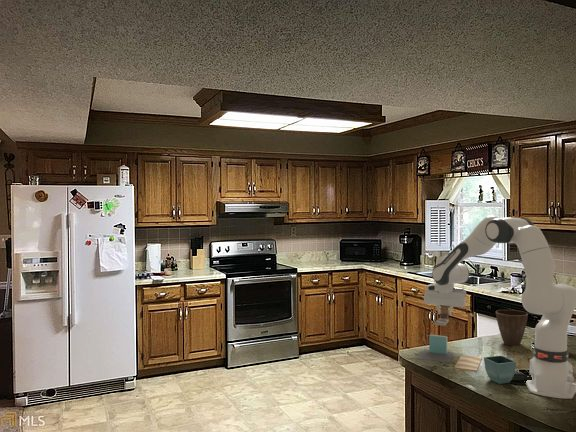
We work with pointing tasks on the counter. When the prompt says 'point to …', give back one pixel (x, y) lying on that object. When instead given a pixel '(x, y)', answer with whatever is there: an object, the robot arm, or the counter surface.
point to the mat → (436, 356)
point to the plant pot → (511, 325)
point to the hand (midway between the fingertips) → (444, 314)
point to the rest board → (468, 363)
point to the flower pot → (500, 369)
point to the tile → (438, 344)
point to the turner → (443, 316)
